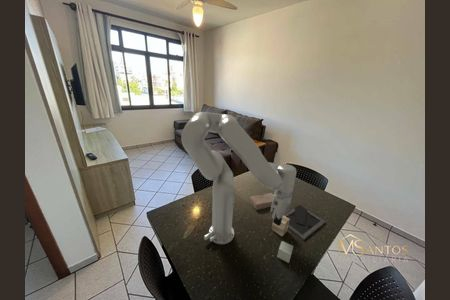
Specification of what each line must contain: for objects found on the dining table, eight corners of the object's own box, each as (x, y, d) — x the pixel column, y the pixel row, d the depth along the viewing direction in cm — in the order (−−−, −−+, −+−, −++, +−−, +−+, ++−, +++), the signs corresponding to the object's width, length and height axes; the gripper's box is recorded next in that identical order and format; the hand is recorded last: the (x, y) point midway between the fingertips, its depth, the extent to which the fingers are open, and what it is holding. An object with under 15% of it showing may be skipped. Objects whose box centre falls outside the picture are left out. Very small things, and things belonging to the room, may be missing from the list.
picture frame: (299, 207, 109) (277, 220, 98) (299, 204, 108) (277, 217, 97) (324, 223, 97) (303, 241, 86) (325, 220, 96) (304, 238, 85)
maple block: (281, 236, 87) (284, 224, 84) (271, 229, 91) (273, 217, 88) (286, 231, 90) (289, 219, 87) (276, 224, 94) (278, 212, 91)
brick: (271, 197, 117) (272, 191, 115) (278, 205, 110) (279, 199, 108) (248, 202, 111) (249, 196, 110) (255, 211, 104) (256, 204, 102)
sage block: (288, 263, 74) (290, 254, 72) (277, 257, 77) (278, 248, 75) (291, 254, 78) (293, 246, 76) (280, 248, 81) (281, 240, 79)
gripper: (281, 202, 71) (275, 236, 77) (298, 189, 80) (291, 220, 87) (266, 194, 76) (261, 226, 82) (284, 182, 85) (278, 212, 92)
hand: (277, 223), depth 85 cm, fingers closed
